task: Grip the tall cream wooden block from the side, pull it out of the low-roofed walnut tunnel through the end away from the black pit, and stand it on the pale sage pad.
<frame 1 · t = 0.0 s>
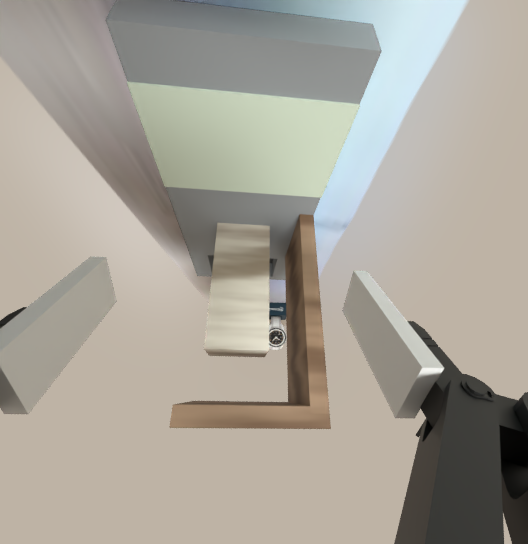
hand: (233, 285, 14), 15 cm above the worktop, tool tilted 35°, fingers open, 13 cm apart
cream block: (243, 236, 32), point 3 cm above the worktop, touching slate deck
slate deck: (245, 197, 30), on the worktop
walnut tunnel: (253, 315, 28), on the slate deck, point 13 cm above the worktop
watch: (275, 304, 67), on the worktop
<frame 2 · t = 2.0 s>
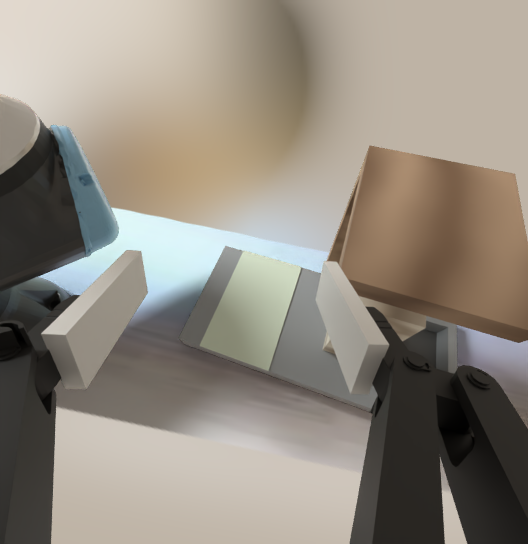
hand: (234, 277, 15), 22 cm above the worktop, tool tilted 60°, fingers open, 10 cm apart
cream block: (347, 333, 33), point 3 cm above the worktop, touching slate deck
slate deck: (316, 331, 36), on the worktop
walnut tunnel: (378, 289, 25), on the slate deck, point 13 cm above the worktop
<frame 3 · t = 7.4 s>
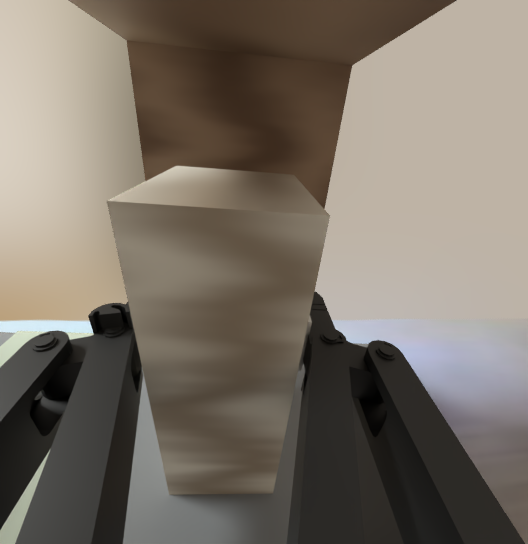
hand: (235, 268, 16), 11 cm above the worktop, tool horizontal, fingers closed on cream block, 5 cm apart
cream block: (227, 431, 15), point 3 cm above the worktop, touching gripper, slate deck
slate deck: (170, 458, 16), on the worktop
walnut tunnel: (232, 269, 12), on the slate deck, point 13 cm above the worktop
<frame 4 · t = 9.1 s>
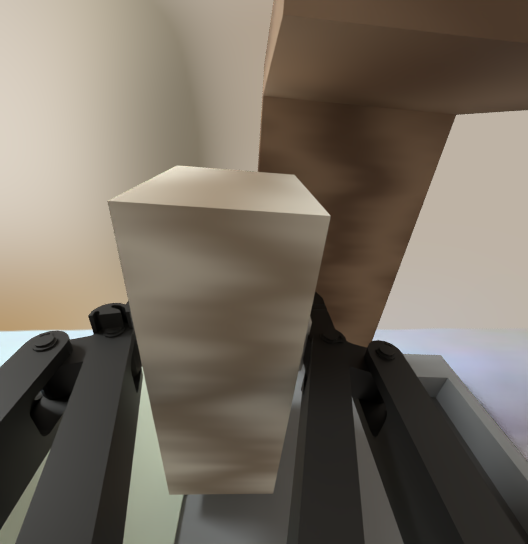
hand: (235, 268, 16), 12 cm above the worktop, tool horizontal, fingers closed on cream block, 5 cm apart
cream block: (227, 431, 15), point 4 cm above the worktop, touching gripper
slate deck: (263, 461, 18), on the worktop
walnut tunnel: (350, 295, 13), on the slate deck, point 13 cm above the worktop
when the fingers open (12 cm above the worktop, at t = 11.0 s): cream block stays where it is, resting on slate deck.
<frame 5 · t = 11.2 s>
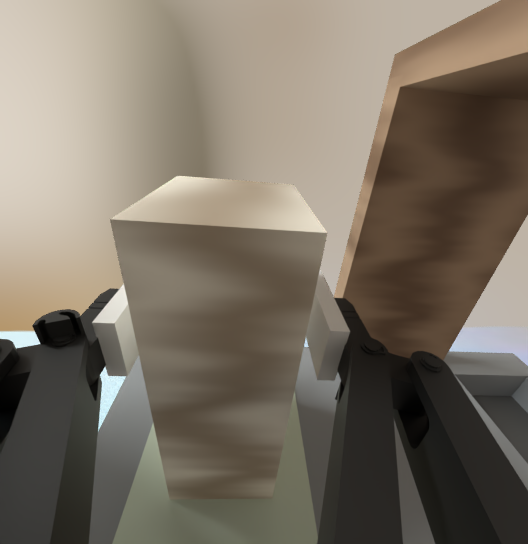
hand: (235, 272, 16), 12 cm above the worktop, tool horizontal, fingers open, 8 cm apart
cream block: (226, 435, 15), point 3 cm above the worktop, touching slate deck
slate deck: (360, 462, 18), on the worktop
walnut tunnel: (484, 292, 13), on the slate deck, point 13 cm above the worktop
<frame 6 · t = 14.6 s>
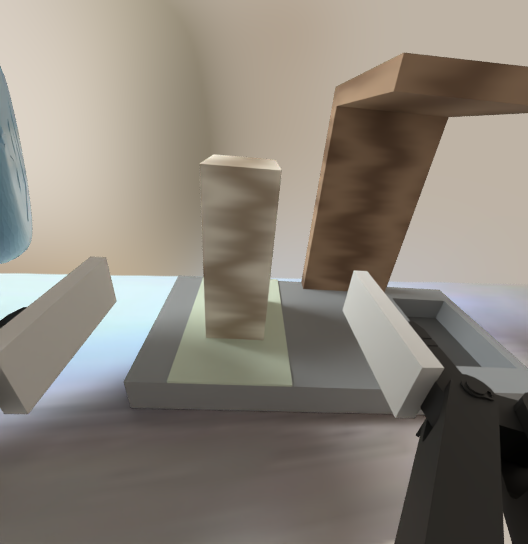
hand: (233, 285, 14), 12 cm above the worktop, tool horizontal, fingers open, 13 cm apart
cream block: (237, 316, 25), point 3 cm above the worktop, touching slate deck
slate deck: (322, 344, 27), on the worktop
walnut tunnel: (385, 223, 23), on the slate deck, point 13 cm above the worktop
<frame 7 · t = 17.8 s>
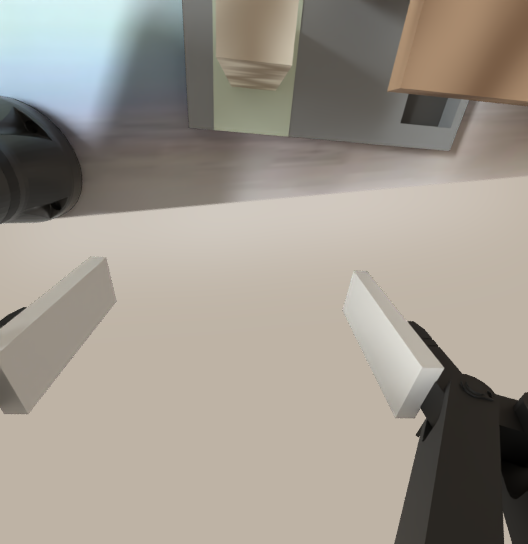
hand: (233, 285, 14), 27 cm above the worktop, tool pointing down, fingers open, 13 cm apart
cream block: (255, 54, 28), point 3 cm above the worktop, touching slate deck
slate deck: (329, 69, 31), on the worktop
walnut tunnel: (424, 15, 19), on the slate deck, point 13 cm above the worktop
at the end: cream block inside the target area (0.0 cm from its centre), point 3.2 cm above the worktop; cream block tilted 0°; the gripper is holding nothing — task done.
